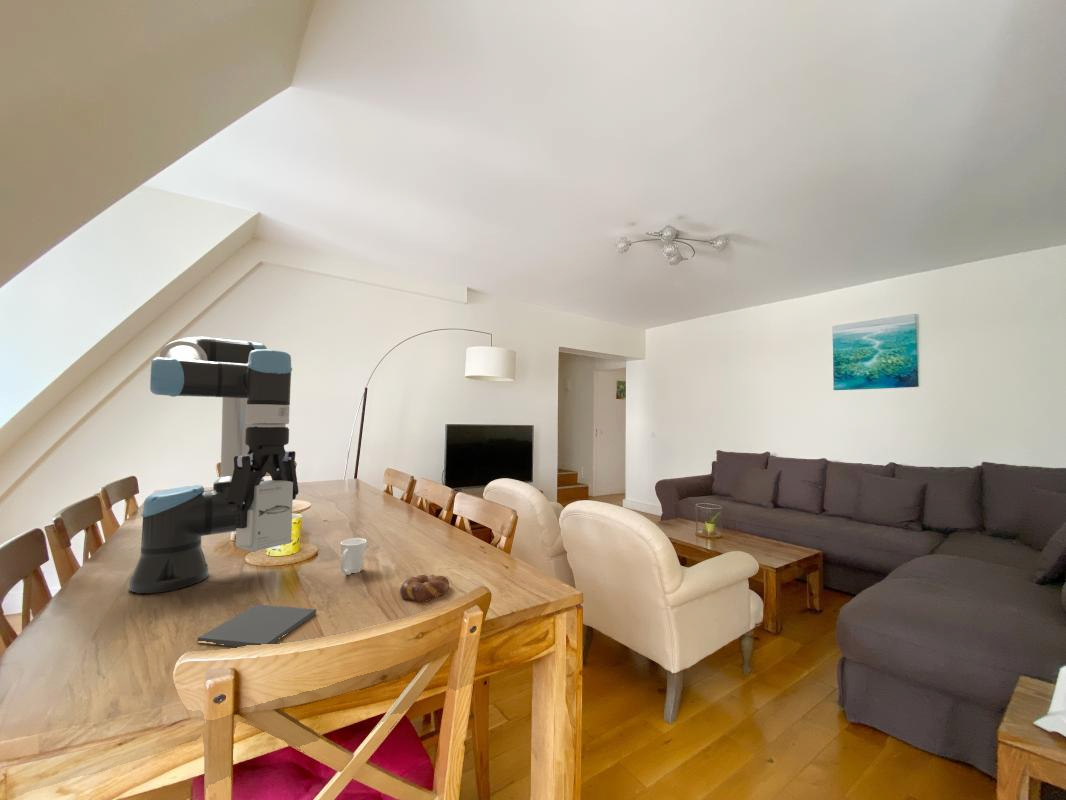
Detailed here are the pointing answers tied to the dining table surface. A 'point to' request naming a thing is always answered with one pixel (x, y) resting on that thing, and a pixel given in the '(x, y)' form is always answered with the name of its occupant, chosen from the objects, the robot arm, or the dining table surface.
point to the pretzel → (424, 587)
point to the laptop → (258, 626)
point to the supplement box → (271, 515)
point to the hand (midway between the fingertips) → (264, 537)
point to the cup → (352, 555)
